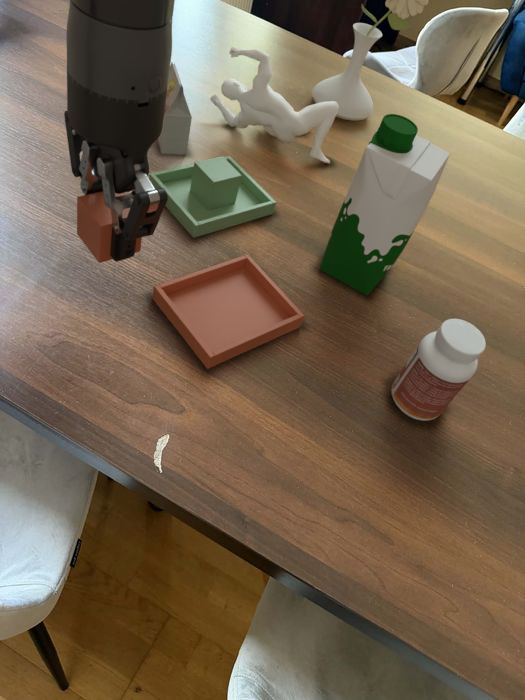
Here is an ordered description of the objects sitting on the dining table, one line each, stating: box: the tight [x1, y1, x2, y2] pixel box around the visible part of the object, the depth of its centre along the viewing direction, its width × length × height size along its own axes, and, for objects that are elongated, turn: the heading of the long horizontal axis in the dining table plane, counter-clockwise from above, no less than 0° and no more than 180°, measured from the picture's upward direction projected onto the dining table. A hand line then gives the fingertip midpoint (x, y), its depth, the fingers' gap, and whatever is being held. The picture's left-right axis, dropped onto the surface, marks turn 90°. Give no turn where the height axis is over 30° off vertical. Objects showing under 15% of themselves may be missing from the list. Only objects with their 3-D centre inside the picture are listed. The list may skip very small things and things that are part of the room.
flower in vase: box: [311, 0, 430, 122], centre depth 94 cm, size 13×11×25 cm
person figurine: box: [209, 46, 339, 164], centre depth 88 cm, size 13×13×18 cm
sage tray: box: [148, 155, 277, 239], centre depth 78 cm, size 13×11×2 cm
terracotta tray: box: [152, 253, 306, 370], centre depth 65 cm, size 13×11×2 cm
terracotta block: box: [76, 191, 143, 264], centre depth 55 cm, size 4×4×4 cm
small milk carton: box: [156, 61, 193, 156], centre depth 81 cm, size 4×7×10 cm, turn 16°
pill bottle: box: [391, 318, 487, 422], centre depth 60 cm, size 6×6×11 cm
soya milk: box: [319, 113, 451, 297], centre depth 69 cm, size 9×9×20 cm
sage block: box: [190, 155, 242, 211], centre depth 76 cm, size 4×4×4 cm
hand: (109, 240), depth 56 cm, fingers closed on terracotta block, 4 cm apart
